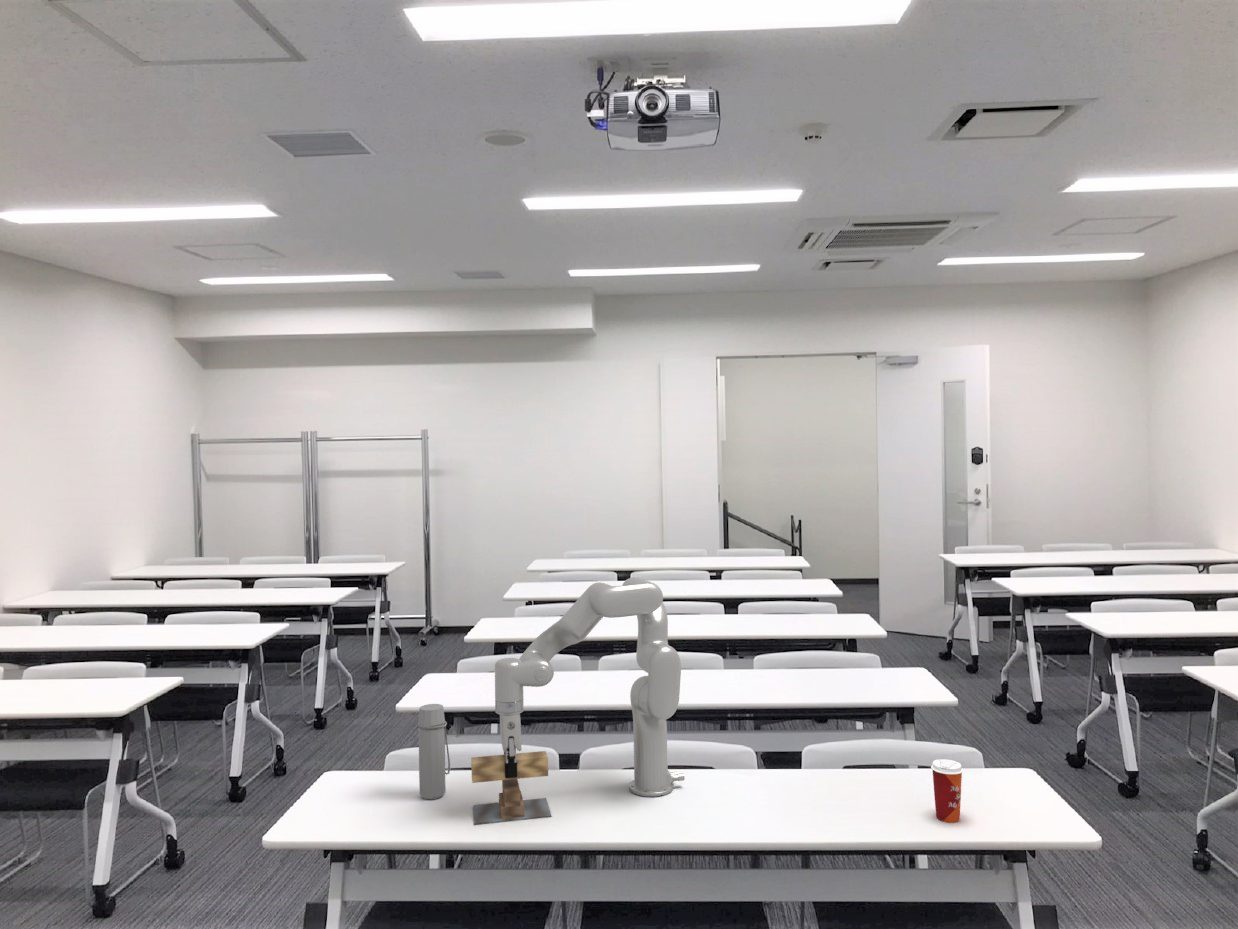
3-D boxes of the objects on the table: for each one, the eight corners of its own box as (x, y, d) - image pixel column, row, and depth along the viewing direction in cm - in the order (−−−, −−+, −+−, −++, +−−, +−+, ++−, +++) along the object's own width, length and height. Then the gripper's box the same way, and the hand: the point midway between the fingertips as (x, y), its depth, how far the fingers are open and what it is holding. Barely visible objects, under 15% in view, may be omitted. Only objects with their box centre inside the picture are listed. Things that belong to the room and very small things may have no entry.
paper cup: (961, 827, 210) (960, 771, 210) (929, 820, 214) (928, 765, 214) (966, 815, 217) (965, 761, 217) (935, 809, 221) (934, 756, 221)
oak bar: (546, 769, 229) (545, 751, 229) (548, 775, 224) (547, 757, 224) (471, 776, 225) (471, 757, 225) (472, 783, 220) (471, 764, 220)
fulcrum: (546, 799, 233) (545, 772, 233) (551, 816, 221) (550, 788, 221) (472, 806, 229) (472, 779, 229) (474, 825, 217) (473, 796, 217)
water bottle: (427, 803, 232) (426, 712, 231) (414, 795, 237) (412, 706, 237) (457, 794, 238) (455, 705, 238) (443, 786, 244) (441, 700, 243)
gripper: (526, 713, 217) (527, 784, 217) (520, 696, 234) (521, 761, 234) (497, 716, 216) (498, 787, 216) (493, 698, 232) (494, 764, 232)
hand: (510, 773), depth 225 cm, fingers closed on oak bar, 5 cm apart
